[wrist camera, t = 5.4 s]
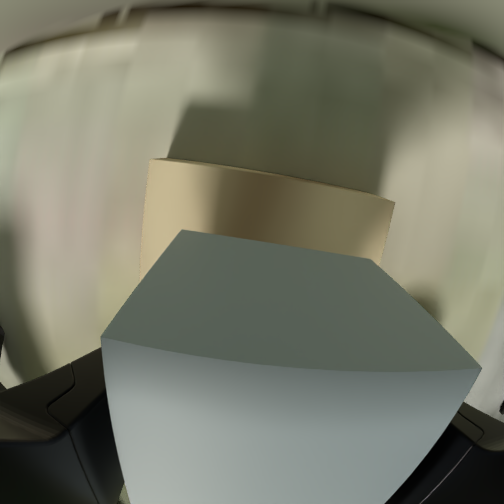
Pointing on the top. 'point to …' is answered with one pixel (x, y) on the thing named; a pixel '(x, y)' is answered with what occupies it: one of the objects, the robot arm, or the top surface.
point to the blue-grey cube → (275, 377)
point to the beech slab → (258, 210)
